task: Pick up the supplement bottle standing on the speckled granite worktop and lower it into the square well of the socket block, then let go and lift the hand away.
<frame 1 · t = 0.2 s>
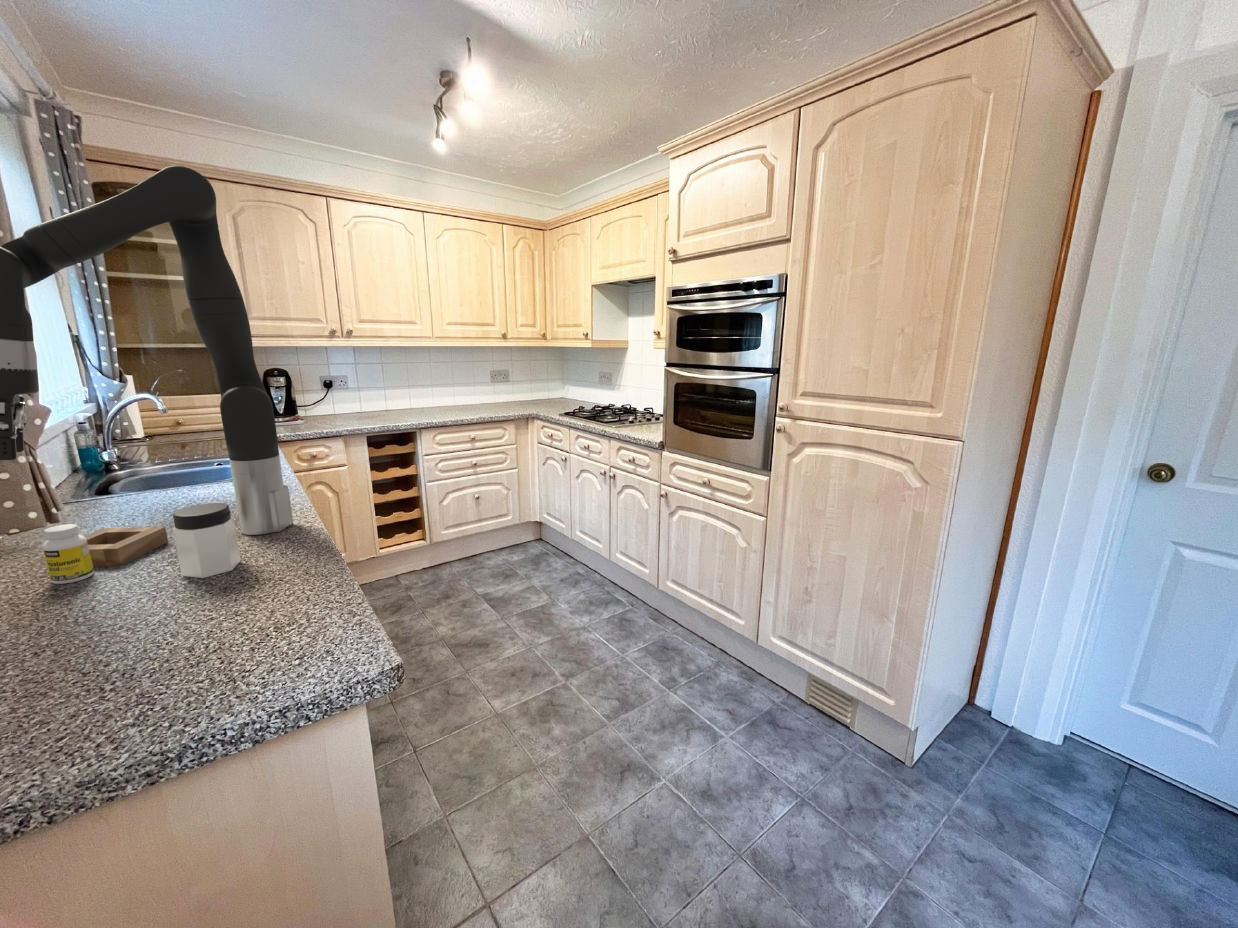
hand: (11, 455, 90), 22 cm above the countertop, tool pointing down, fingers open, 8 cm apart
jar: (212, 569, 95), on the countertop
socket block: (113, 554, 101), on the countertop
supplement bottle: (73, 579, 91), on the countertop
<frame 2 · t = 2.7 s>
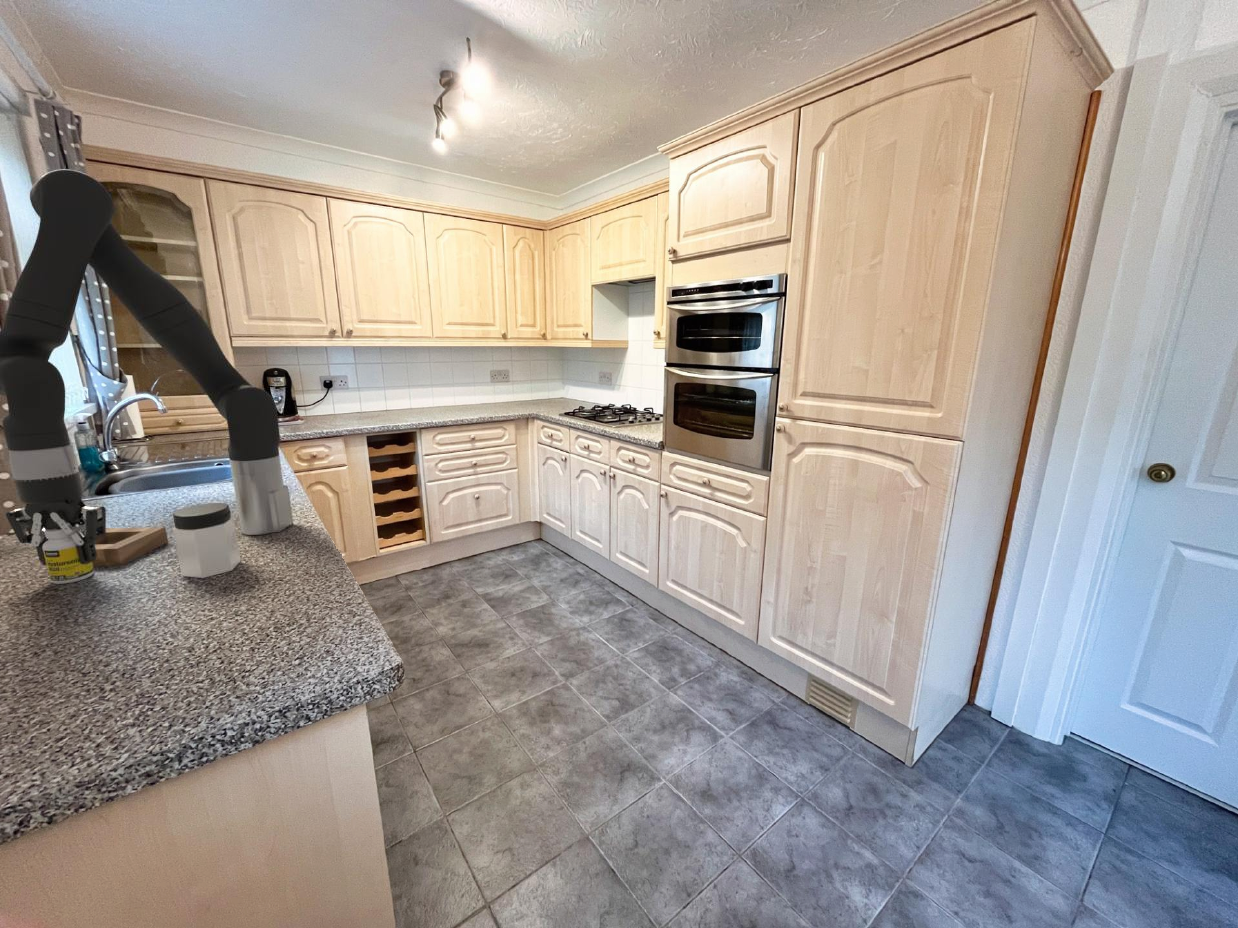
hand: (69, 562, 90), 3 cm above the countertop, tool pointing down, fingers closed on supplement bottle, 5 cm apart
supplement bottle: (73, 578, 91), on the countertop, touching gripper
everything else where it was.
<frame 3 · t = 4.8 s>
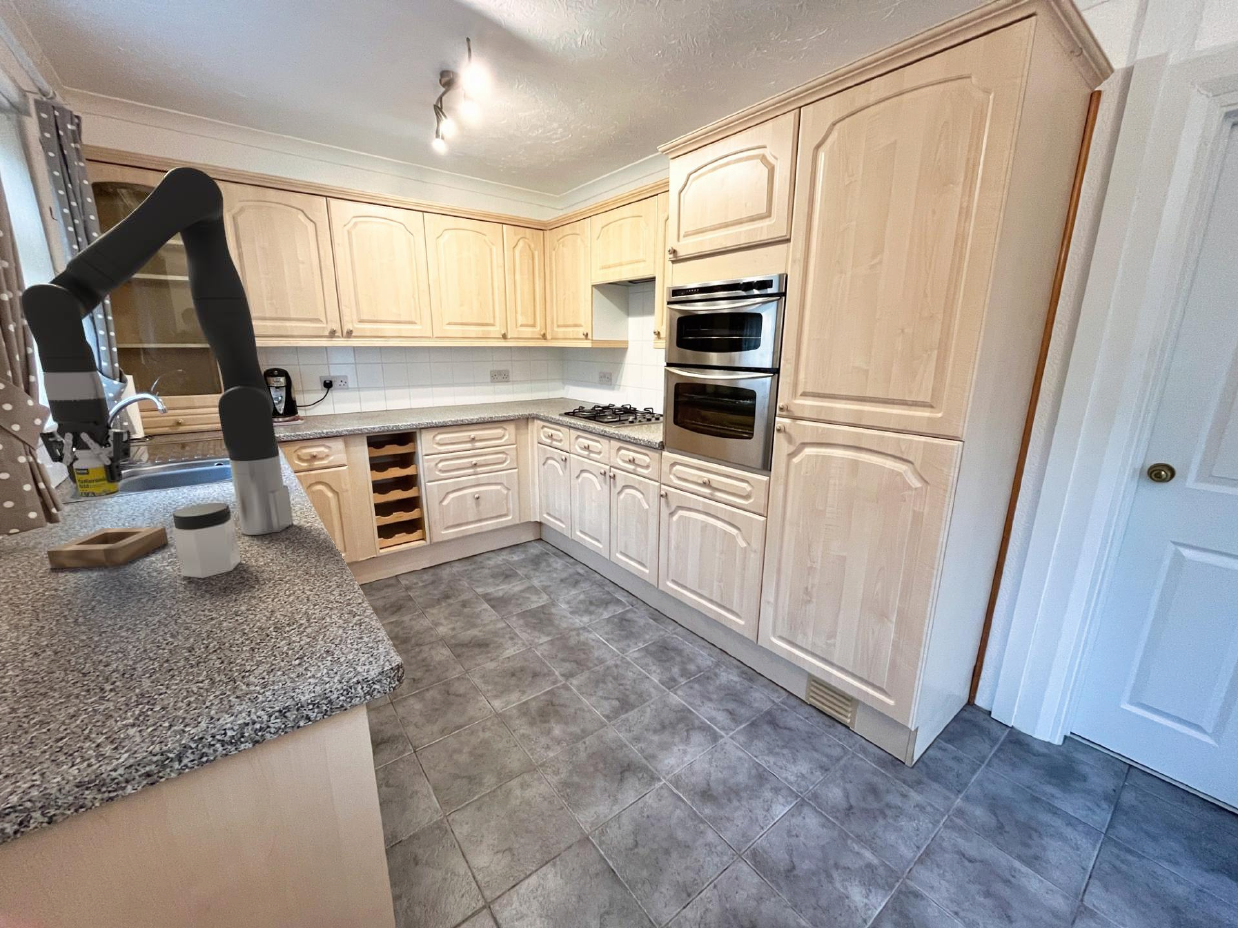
hand: (97, 482, 97), 15 cm above the countertop, tool pointing down, fingers closed on supplement bottle, 5 cm apart
supplement bottle: (101, 497, 98), point 12 cm above the countertop, touching gripper
everything else where it was.
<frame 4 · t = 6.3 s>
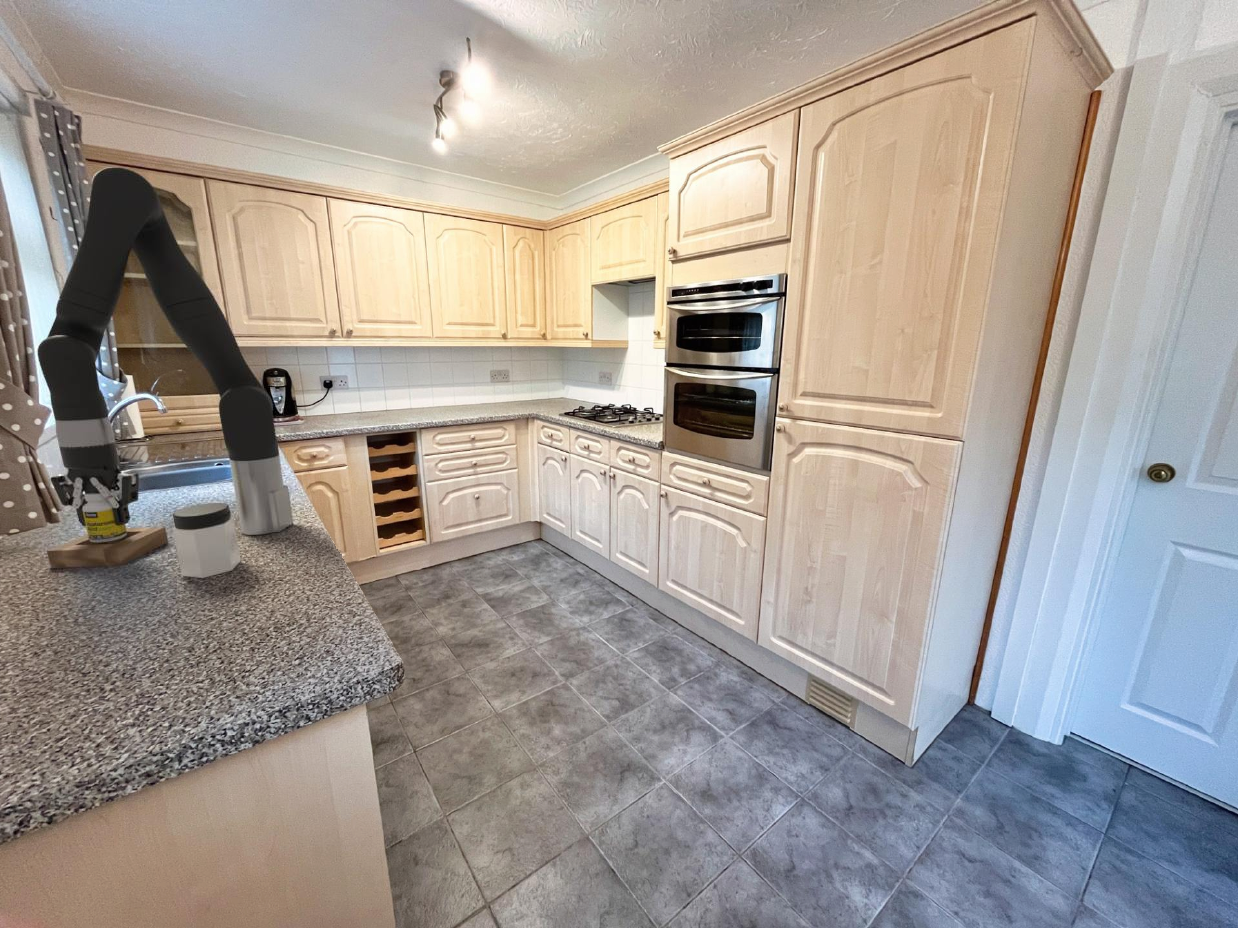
hand: (105, 524, 99), 6 cm above the countertop, tool pointing down, fingers closed on supplement bottle, 5 cm apart
supplement bottle: (109, 539, 100), point 3 cm above the countertop, touching gripper
everything else where it was.
when the fingers open (4 cm above the countertop, at t = 7.2 s): supplement bottle drops 1 cm, resting in socket block.
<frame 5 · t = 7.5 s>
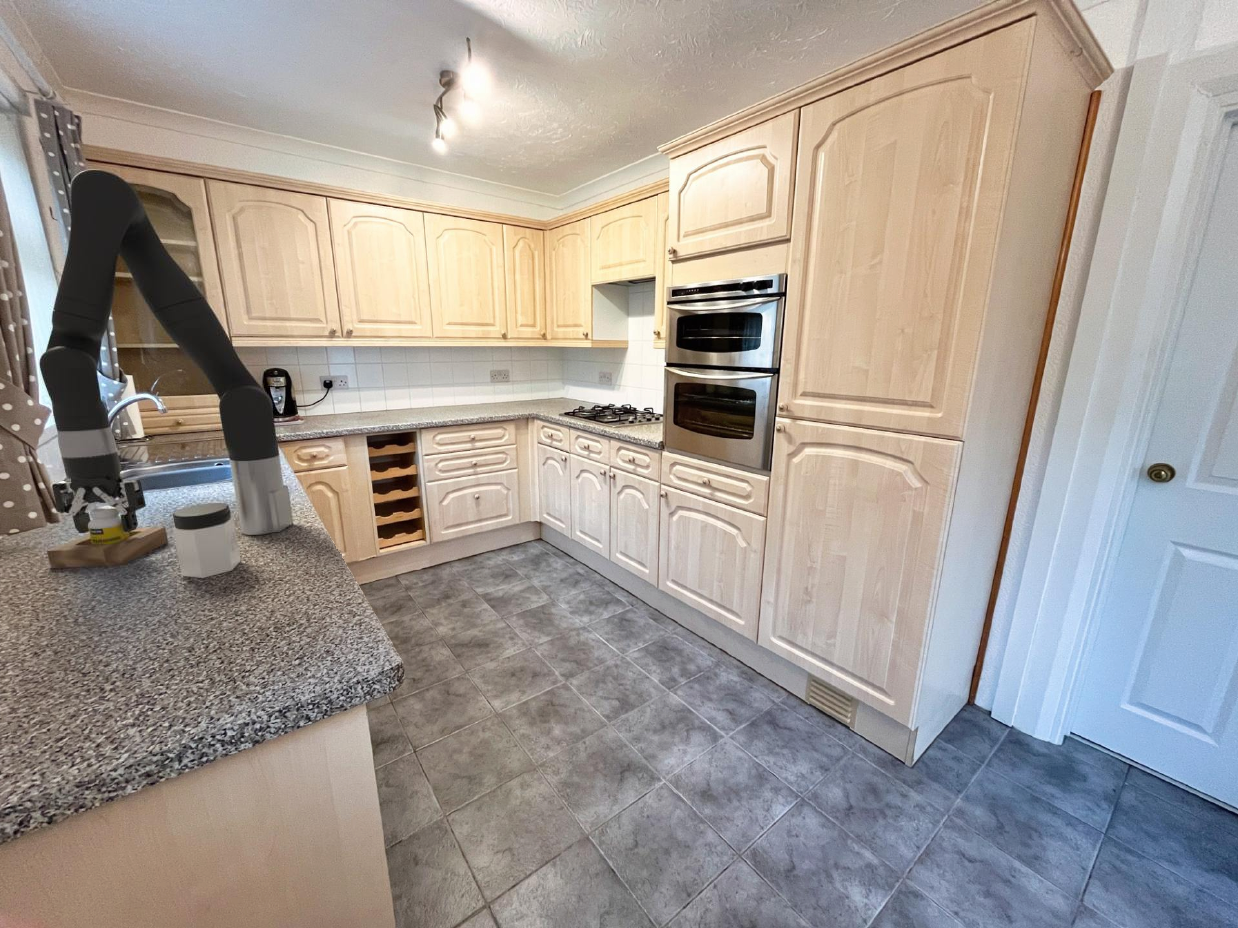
hand: (108, 531, 100), 5 cm above the countertop, tool pointing down, fingers open, 7 cm apart
supplement bottle: (114, 555, 101), resting in socket block
everything else where it was.
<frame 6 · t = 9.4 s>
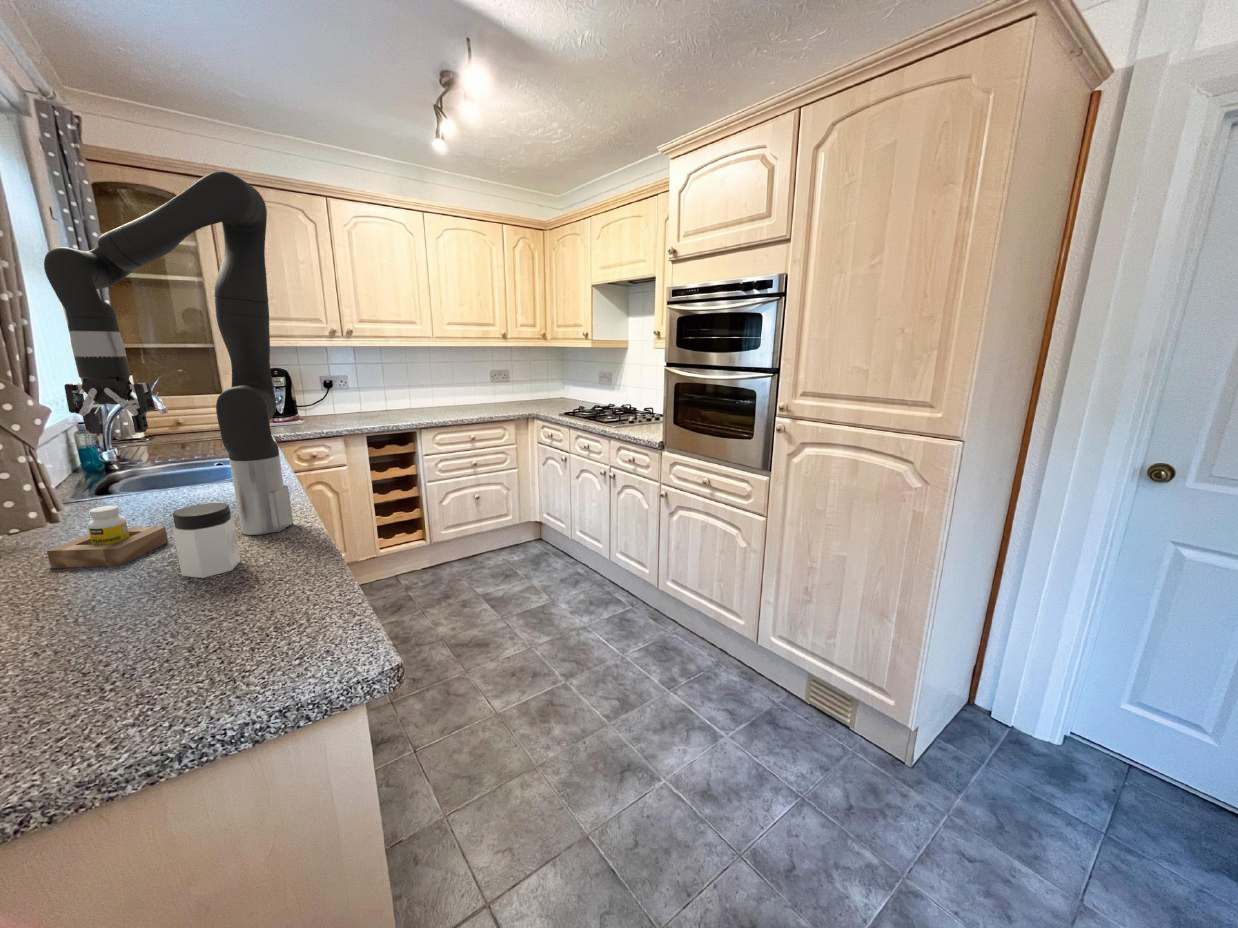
hand: (118, 432, 105), 23 cm above the countertop, tool pointing down, fingers open, 8 cm apart
nothing on the countertop moved.
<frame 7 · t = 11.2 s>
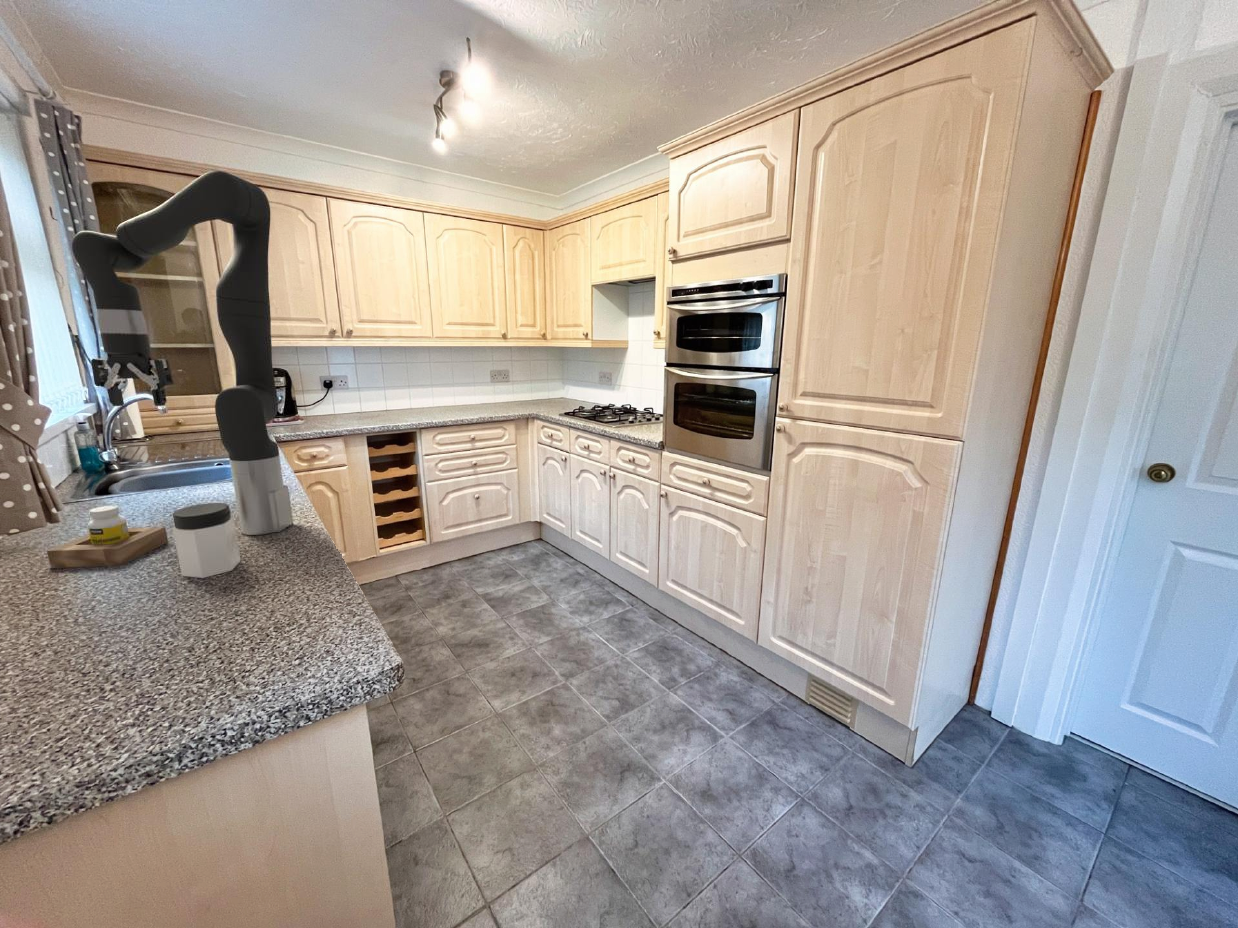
hand: (139, 405, 112), 28 cm above the countertop, tool pointing down, fingers open, 8 cm apart
nothing on the countertop moved.
at the end: supplement bottle 0.1 cm from the socket block (horizontally); supplement bottle tilted 0°; the gripper is holding nothing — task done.
